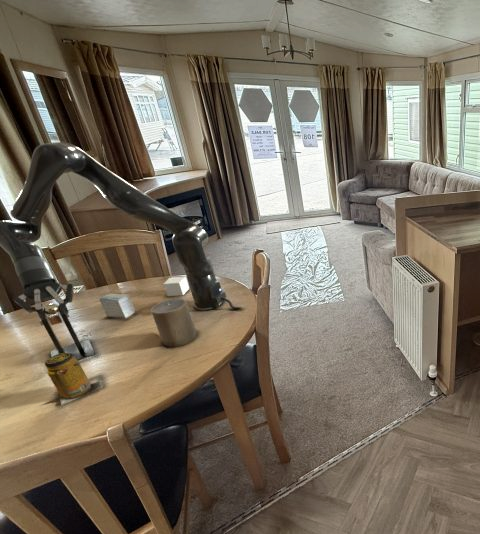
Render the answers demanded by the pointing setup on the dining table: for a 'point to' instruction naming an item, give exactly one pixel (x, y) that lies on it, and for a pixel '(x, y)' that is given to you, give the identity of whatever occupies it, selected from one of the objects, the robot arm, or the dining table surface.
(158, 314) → the pillar candle
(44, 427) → the dining table surface
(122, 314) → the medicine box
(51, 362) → the condiment
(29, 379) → the dining table surface
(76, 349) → the bracket
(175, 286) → the white cube
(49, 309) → the lever
